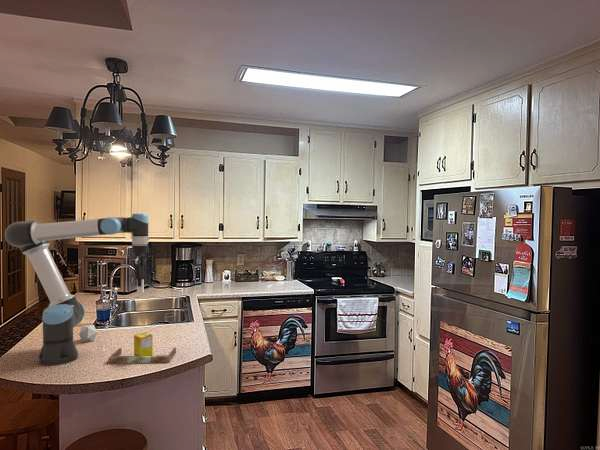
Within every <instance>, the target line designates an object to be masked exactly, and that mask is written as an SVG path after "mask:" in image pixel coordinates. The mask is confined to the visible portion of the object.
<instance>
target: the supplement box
mask: <svg viewBox="0 0 600 450" xmlns="http://www.w3.org/2000/svg"><path fill="white" fill-rule="evenodd" d="M153 349H154V348H153V333H149V332H141V333H138V334H133V356H134V357H140V356H153V355H154V354H153V351H154V350H153Z"/></svg>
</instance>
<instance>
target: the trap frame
mask: <svg viewBox="0 0 600 450" xmlns="http://www.w3.org/2000/svg"><path fill="white" fill-rule="evenodd" d="M176 354H177V347H173V349H172V350H171V351H170V352H169V354H168V355H155V356H140V357H134V355H122V348H120V347H119V348H118V349H117V350H115V352H113V353H112V354H110V356H109V357H107V358H108V363H107V364H146V363H147V364H154V363H156V364H157V363H160V364H161V363H167V364H168V363H170V362H171V361H172V359H173V358H174V357H175V356H176Z"/></svg>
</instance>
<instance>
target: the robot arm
mask: <svg viewBox="0 0 600 450" xmlns="http://www.w3.org/2000/svg"><path fill="white" fill-rule="evenodd" d="M149 224H150V223H149V215H148V213H132V214H131V216H130V217H123V216H121V217H120V216H119V217H118V216H110V217H109V216H108V217H105V218H95V219H94V218H92V219H82V220H81V219H79V220H70V221H59V222H48V223H41V222H39V221H35V220H25V221H15V222H12V223H11V224H9V225H8V226H7V227H6V229H5V231H4V238H5V241H6V243H8V244H9V245H10V246H12V247H15V248H19V249H20V252H21V253H22V255H25V256H27V257H28V259H29V261H30V263H31V265H32V268H33V269H34V271H35V273H36V275H37V278H38V280H39V281H40V284H41V285H42V289H44V292H45V294H46V296H47V297H48V301H49V305H48V306H47V307H46V308H45V309H43V312H42V317H41V319H42V345H41V349H40V352H39V354H38V364H39V365H43V366H57V365H64V364H67V363H70V362H73V361H75V360H76V359H77V358H79V356H78V355H79V351H78V349H77V346H76V343H75V342H74V341H75V340H74V328H75V327H76V326H77V325H79V324H81V322H82V321H83V319H84V317H85V312H86V308H85V307H84V305H83V304H82V302H79V301H78V299H77V298H76V295H75V294H72V293H70V290H69V289H68V287H67V285H66V283H65V281H64V278H63V277H62V274H61V272H60V270H59V268H58V266H57V264H56V263H55V260H54V257H53V256H52V254H51V252H50V249H49V246H50V244H51V243H50V241H57V240H67V239H74V238H87V237H95V236H108V235H109V236H110V235H116V234H125V233H126V234H127V233H129V234H131V244H132V246H131V253H133V254H135V257H134V259H133V266H134V280H136V294H143V293H144V292H145V291H144V285H145V283H144V280H145V279H146V269H147V261H148V260H147V259H148V258H147V257H146V254H147V253H149V245H148V244H149V241H150V238H149Z"/></svg>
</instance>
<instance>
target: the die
mask: <svg viewBox="0 0 600 450" xmlns="http://www.w3.org/2000/svg"><path fill="white" fill-rule="evenodd" d="M97 334H98V331H97V329H96V327H95V325H94V324H90V325H89V324H88V325H82V326H81V328H80V331H79V333H78V335H79V338H80V340H81V342H82V343H88V342H94V341H95V339H96V336H97Z"/></svg>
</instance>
